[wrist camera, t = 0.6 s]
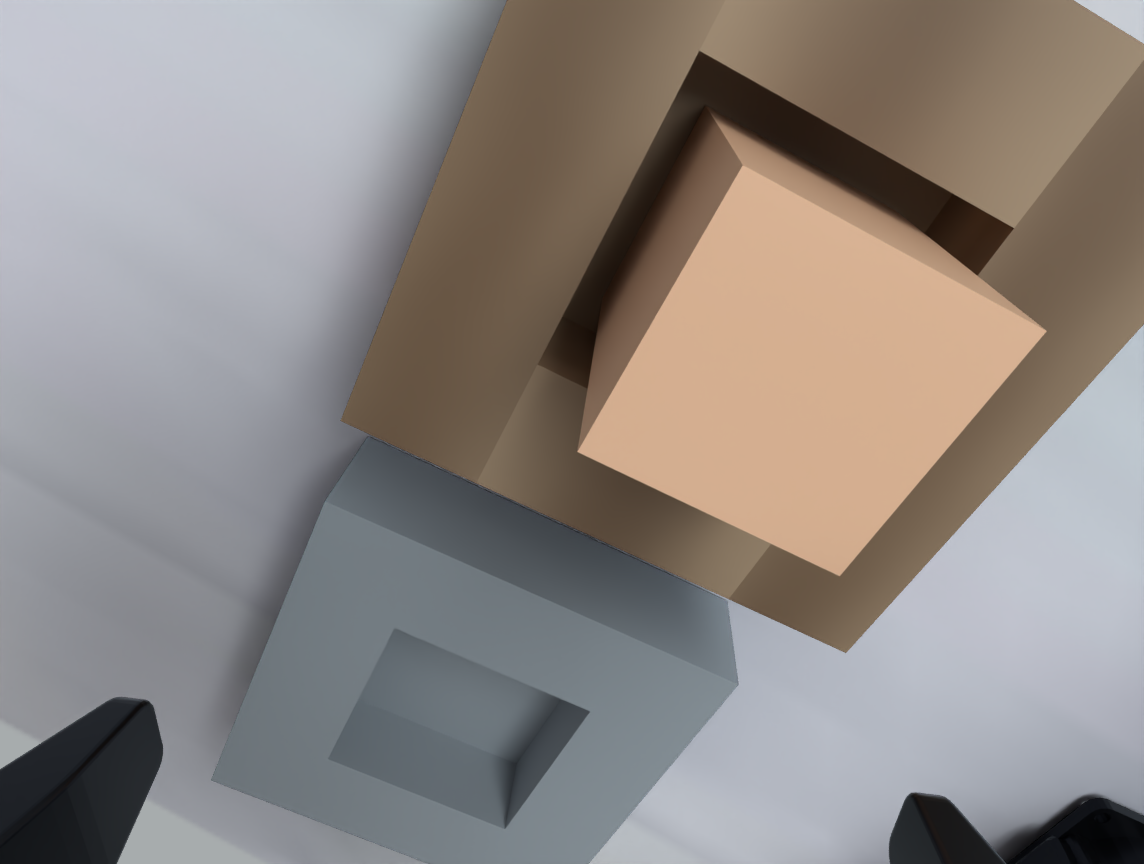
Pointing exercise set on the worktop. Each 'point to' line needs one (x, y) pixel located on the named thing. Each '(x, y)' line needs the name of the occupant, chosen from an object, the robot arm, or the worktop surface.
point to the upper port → (817, 135)
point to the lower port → (472, 675)
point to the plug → (788, 348)
